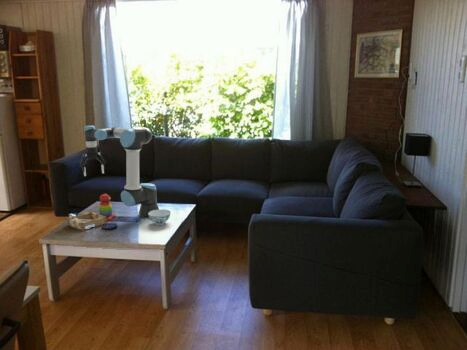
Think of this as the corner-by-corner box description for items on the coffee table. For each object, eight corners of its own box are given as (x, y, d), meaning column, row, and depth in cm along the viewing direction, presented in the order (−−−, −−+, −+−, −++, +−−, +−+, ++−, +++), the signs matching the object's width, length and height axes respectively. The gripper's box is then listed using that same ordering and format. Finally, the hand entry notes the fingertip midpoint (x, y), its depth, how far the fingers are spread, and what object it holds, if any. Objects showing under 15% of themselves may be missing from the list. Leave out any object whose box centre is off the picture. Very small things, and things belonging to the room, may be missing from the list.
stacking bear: (109, 221, 291) (107, 196, 287) (96, 220, 293) (94, 195, 289) (116, 216, 301) (115, 192, 297) (104, 215, 303) (102, 191, 299)
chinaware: (174, 220, 290) (174, 210, 288) (165, 228, 276) (164, 216, 274) (154, 219, 294) (154, 208, 292) (144, 226, 280) (144, 215, 278)
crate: (106, 223, 285) (106, 216, 284) (82, 231, 272) (81, 223, 271) (91, 218, 297) (91, 211, 296) (68, 225, 283) (67, 217, 282)
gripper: (106, 144, 320) (108, 171, 324) (72, 147, 305) (75, 176, 310) (109, 145, 314) (112, 172, 318) (75, 149, 299) (78, 177, 304)
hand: (94, 174), depth 314 cm, fingers open, 13 cm apart
